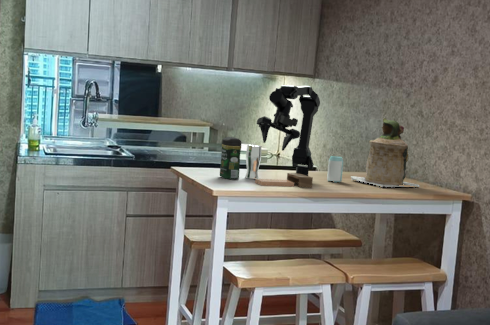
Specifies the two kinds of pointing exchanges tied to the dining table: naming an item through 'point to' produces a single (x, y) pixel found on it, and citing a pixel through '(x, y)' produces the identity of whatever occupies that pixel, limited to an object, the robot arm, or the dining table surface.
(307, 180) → the brown rectangular block
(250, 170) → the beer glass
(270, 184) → the tile
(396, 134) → the cookie jar
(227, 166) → the coffee jar
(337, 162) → the white teal canister
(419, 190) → the dining table surface
